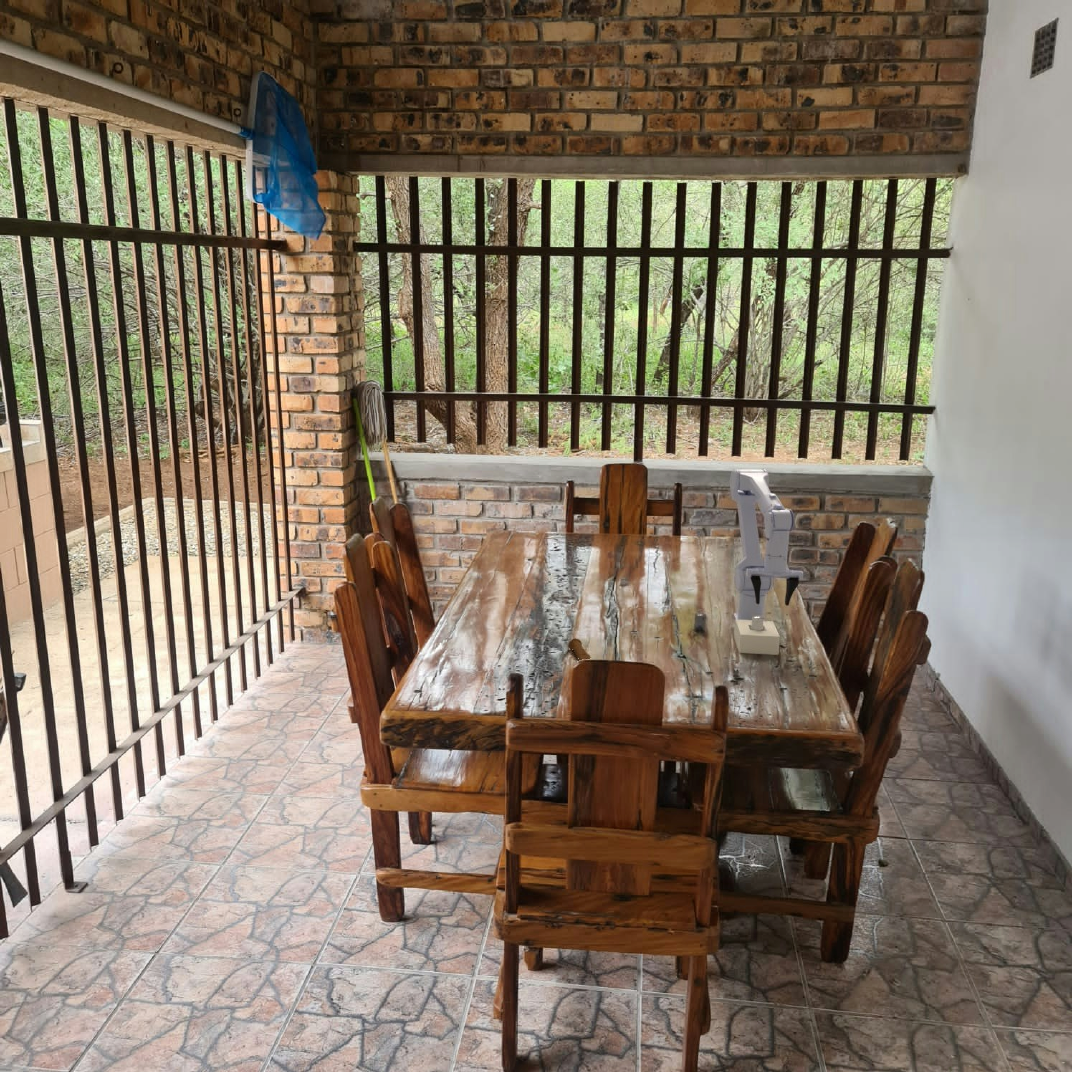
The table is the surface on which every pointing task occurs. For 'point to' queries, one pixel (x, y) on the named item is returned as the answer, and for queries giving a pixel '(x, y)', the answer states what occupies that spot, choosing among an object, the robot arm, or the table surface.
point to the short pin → (699, 622)
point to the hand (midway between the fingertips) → (772, 603)
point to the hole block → (756, 638)
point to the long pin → (757, 623)
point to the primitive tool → (578, 649)
